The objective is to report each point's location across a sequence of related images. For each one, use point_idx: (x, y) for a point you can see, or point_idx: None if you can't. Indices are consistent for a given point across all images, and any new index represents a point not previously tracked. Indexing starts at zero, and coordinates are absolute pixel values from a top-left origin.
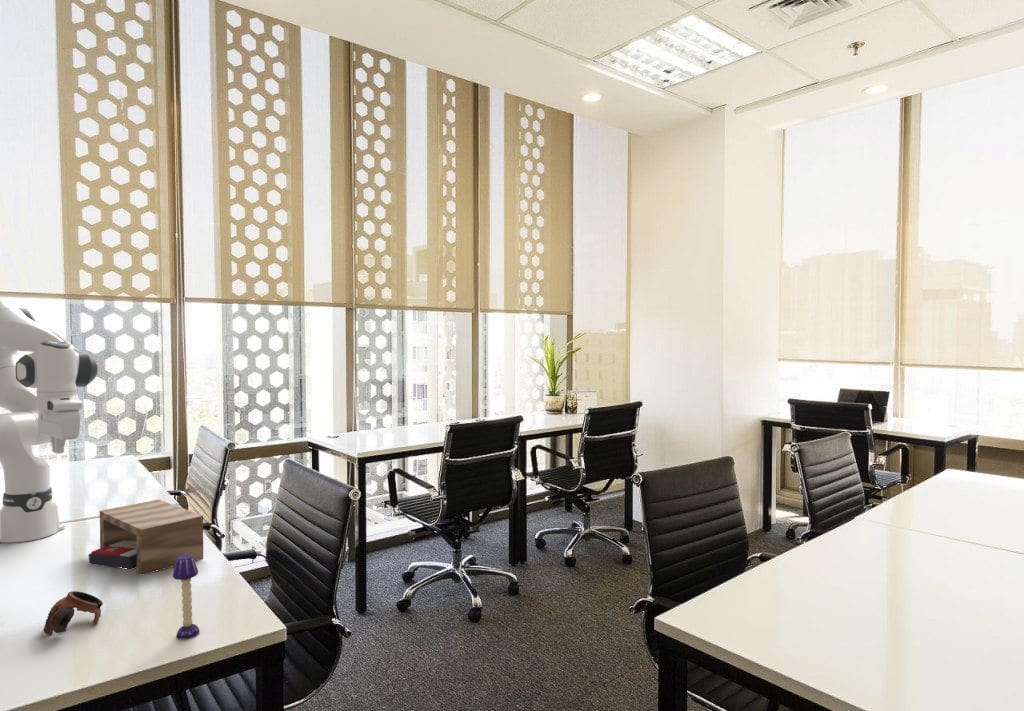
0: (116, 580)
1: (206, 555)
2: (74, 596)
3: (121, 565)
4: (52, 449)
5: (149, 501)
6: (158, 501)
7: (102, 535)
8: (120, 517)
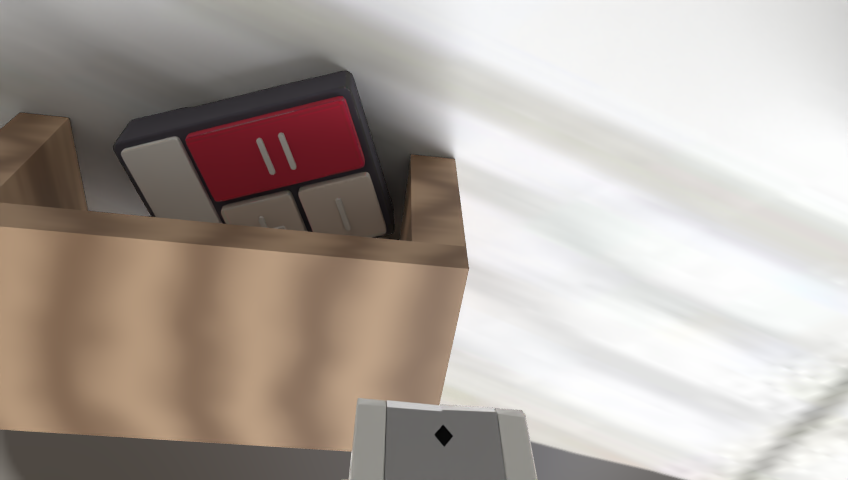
0: (25, 30)
1: None
2: None
3: (168, 115)
4: (520, 439)
5: None
6: None
7: (430, 197)
8: (242, 265)
